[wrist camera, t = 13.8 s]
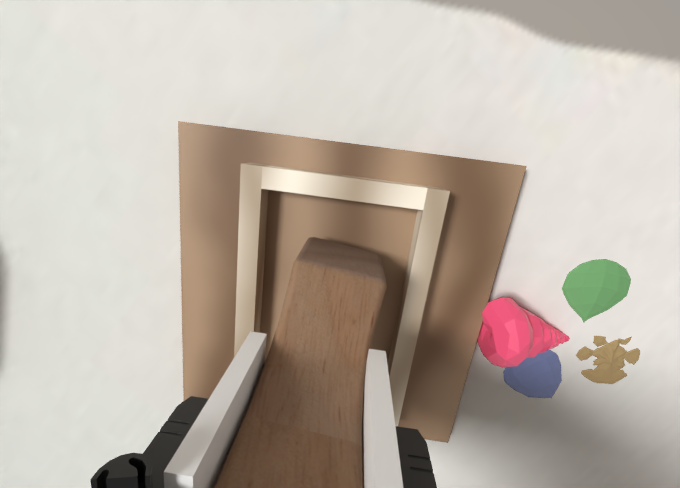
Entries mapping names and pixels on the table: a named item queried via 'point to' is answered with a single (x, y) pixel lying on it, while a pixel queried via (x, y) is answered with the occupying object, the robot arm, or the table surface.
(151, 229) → the table surface
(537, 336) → the toy pieces
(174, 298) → the table surface
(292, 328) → the wooden block
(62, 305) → the table surface
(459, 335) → the socket board
